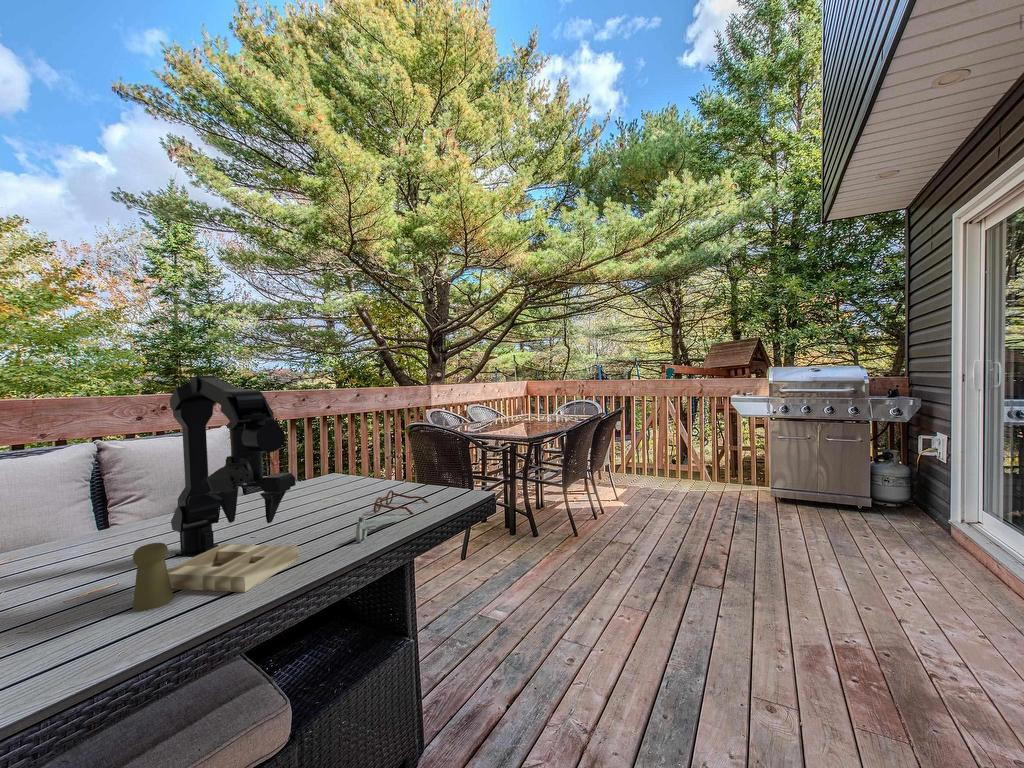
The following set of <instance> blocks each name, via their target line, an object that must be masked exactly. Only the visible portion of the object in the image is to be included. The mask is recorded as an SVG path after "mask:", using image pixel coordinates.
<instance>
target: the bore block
mask: <svg viewBox="0 0 1024 768" xmlns="http://www.w3.org/2000/svg"><path fill="white" fill-rule="evenodd" d="M298 549H299V546H296V545H295V546H292V545H291V546H290V545H258V544H256V545H253V544H252V545H251V544H220V545H218V546H217V547H215V548H213V549H211V550H209V551H206V552H204V553H202V554H200V555H198V556H193V557H191V558H189V559H187V560H185V561H183V562H179V563H178V564H175V565H174V566H171V567H169V568H167V571H168V575H169V580H170V584H171V589H172V590H185V591H187V590H188V591H206V590H207V591H208V590H209V591H210V592H227V591H231V593H232V592H233V593H247V592H248V591H250V590H251V589H253V588H255V587H256V586H258V585H260V584H261V583H263V582H264V581H266V580H268V579H269V578H271V577H273V576H274V575H276V574H277V573H279V572H280V571H282V570H284V569H285V568H287V567H288V565H289V566H290V565H292V564H294V563H295V562H296V560H297V561H298V560H299V551H298ZM291 563H292V564H291ZM211 590H212V591H211Z"/></svg>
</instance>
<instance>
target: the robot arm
mask: <svg viewBox="0 0 1024 768" xmlns="http://www.w3.org/2000/svg"><path fill="white" fill-rule="evenodd" d="M216 404H218V405H220V412H221V413H222V414H223V415H224V416H225V417H226V418H227V420H228V421H229V422H228V423H227V425H226V428H227V429H229V436H230V437H229V438H230V439H229V441H230V455H229V456H226V459H225V465H224V466H223V467H220V468H219V469H217V470H215V471H213V473H212V474H210V475H209V463H208V462H209V461H208V441H207V426H208V425H207V424H208V423H209V421H210V420H211V419H212V417H213V415H214V407H215V406H216ZM169 407H170V409H171V410H172V416H173V418H174V419H175V420H176V422H177V423H178V424H179V425H180V426H181V428H182V432H181V433H182V447H183V449H182V450H183V463H184V464H183V466H184V467H183V468H184V469H183V470H184V488H183V490H182V491H181V493H180V494H179V496H178V498H177V507H176V509H175V510H174V513H173V516H172V518H171V519H170V520H171V521H170V526H171V529H172V531H175V532H177V533H179V544H180V550H179V551H177V552H175V553H174V555H175V556H187V557H188V556H189V557H190V556H191V557H192V556H193V557H195V556H198V555H200V554H202V553H204V552H206V551H209V550H211V549H213V548H215V547H217V546H219V544H218V543H217V544H216V543H215V539H214V530H213V524H217V523H219V520H220V514H221V509H222V511H223V513H224V515H225V518H226V519H227V521H228V523H229V524H231V523H234V522H235V521H236V520H235V519H236V513H237V505H238V495H239V487H241V488H242V487H247V488H248V487H257V488H258V487H259V488H260V489H261V490H262V491H263V492H261V493H260V494H259V495H260V496H261V497H262V498H263V499H264V508H265V510H264V511H265V520H266V523H267V524H270V523H271V524H272V522H273V520H274V518H275V516H276V513H277V511H278V509H279V506H280V503H281V502H282V500H283V498H284V496H285V494H286V492H287V491H290V490H291V488H293V487H295V486H296V484H297V483H296V476H295V475H294V474H293V473H292V472H277V473H274V474H270V475H268V470H264V462H263V461H264V460H263V458H266V457H267V454H268V453H274V452H276V451H278V450H279V449H280V448H281V447H282V446H283V445H284V443H285V440H286V434H285V431H284V429H282V427H281V426H280V425H278V424H277V423H275V417H274V411H273V409H272V407H270V405H269V402H268V401H267V399H266V396H265V395H264V393H263V392H262V391H260V390H258V389H252V388H247V389H246V388H238V387H236V386H234V385H232V384H231V383H228V382H226V381H224V380H222V379H220V378H219V377H218V376H216V375H213V374H212V375H211V374H210V375H195V376H192V377H191V378H190V380H189V381H188V382H186V383H185V384H181V386H179V387H177V388H175V390H174V391H173V393H172V395H171V396H170V398H169Z"/></svg>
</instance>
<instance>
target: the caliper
mask: <svg viewBox="0 0 1024 768" xmlns="http://www.w3.org/2000/svg"><path fill="white" fill-rule="evenodd" d="M399 519H400V520H401V519H403V516H401V515H393V516H387V517H383V518H378V519H377V518H372V519H366V516H361V517H358V521H357V522H356V528H355V529H356V530H355V535H356V536H355V538H356V540H355V541H356V543H362V541H361V540H365V541H366V540H367V536H368V531H373V530H376V527H378V526H379V527H380V526H383V525H386V524H387V525H388V524H391V523H397V522H398V521H400V520H399Z"/></svg>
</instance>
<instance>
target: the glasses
mask: <svg viewBox="0 0 1024 768" xmlns="http://www.w3.org/2000/svg"><path fill="white" fill-rule="evenodd" d="M390 494H391V498H390V500H389V496H390ZM394 496H395V497H396V496H397V497H401V498H405V499H410V500H411V499H420V500H421V501H423V502H424V503H425V504H427V503H430V502H429V501H428V500H426V499H425V498H423V497H422V496H418V495H417V496H416V495H415V496H410V495H406V494H401V493H400V494H399V493H395V492H394V490H389V491H388V493H387V495H386V496H383V497H380V496H378V497H377V498H376V499H375V501H374V505H373V513H375V514H376V512H377V513H378V512H380V510H381V508H387V509H391V510H393V511H395V510H399V509H402V510H405V511H407V512H408V514H410V515H415V514H414V512H413V511H412V510H410V508H408V507H407V506H396V507H395V506H390V505H391V504H392V502H393V500H394V499H393V498H394ZM378 501H380V502H379V503H378ZM383 501H385V504H383ZM390 503H391V504H390ZM376 507H378V509H376Z"/></svg>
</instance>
